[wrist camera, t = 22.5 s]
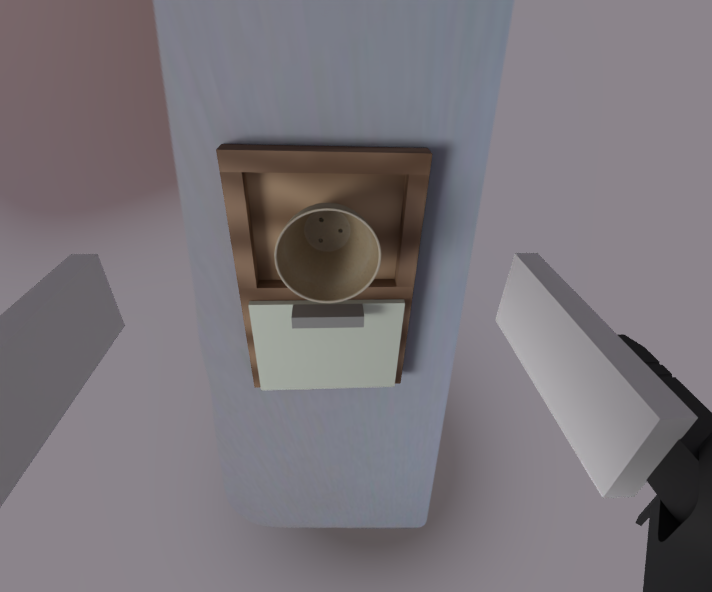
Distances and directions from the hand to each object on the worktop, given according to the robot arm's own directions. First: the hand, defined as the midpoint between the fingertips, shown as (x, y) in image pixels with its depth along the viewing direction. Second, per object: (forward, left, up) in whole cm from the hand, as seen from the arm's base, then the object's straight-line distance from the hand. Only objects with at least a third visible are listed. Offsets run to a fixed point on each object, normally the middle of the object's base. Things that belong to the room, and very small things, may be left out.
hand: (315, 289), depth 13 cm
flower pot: (+8, +6, -28) cm, 30 cm away
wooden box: (+14, +10, -29) cm, 34 cm away
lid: (+21, +15, -26) cm, 37 cm away
